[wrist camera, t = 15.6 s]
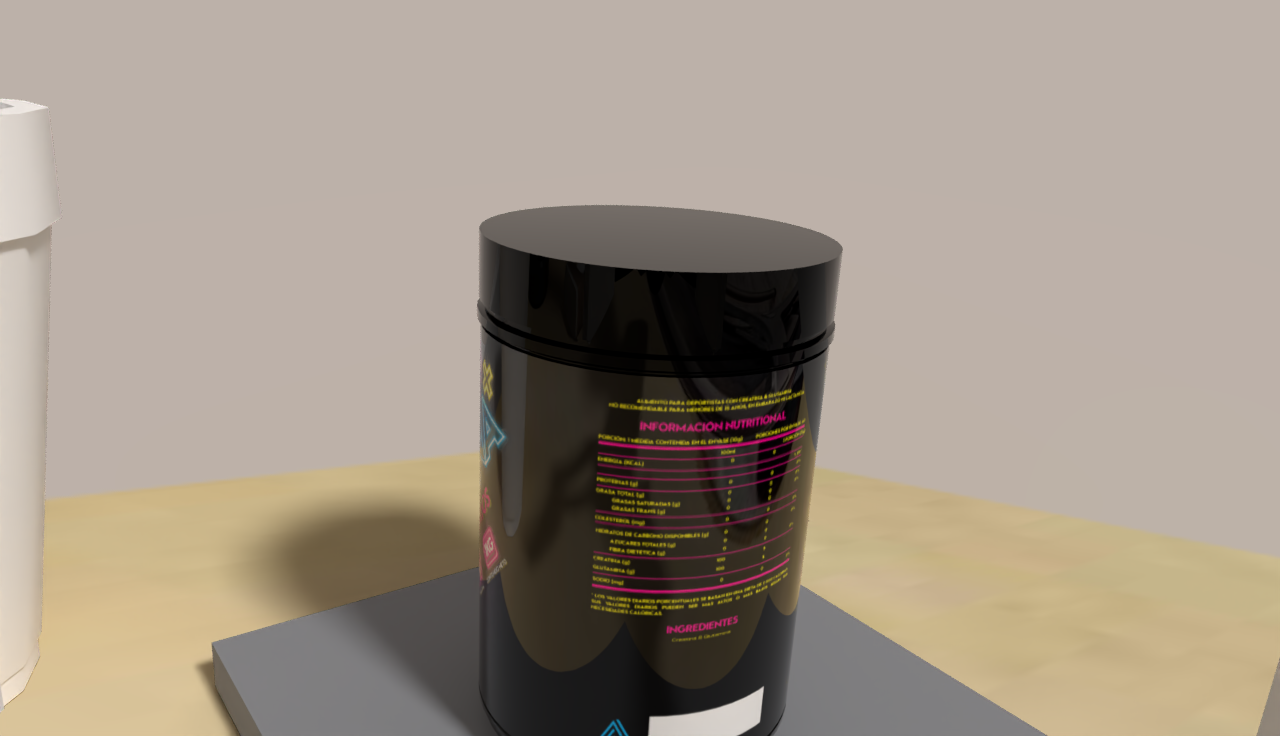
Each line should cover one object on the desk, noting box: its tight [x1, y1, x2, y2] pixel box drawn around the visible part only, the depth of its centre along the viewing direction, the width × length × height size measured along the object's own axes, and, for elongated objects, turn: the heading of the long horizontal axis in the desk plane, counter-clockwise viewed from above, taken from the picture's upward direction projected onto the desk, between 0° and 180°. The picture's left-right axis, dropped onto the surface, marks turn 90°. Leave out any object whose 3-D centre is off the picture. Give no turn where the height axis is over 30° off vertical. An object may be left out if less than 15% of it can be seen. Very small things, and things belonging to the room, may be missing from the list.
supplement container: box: [477, 205, 843, 736], centre depth 20 cm, size 7×7×10 cm
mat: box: [212, 567, 1047, 736], centre depth 22 cm, size 14×14×1 cm
